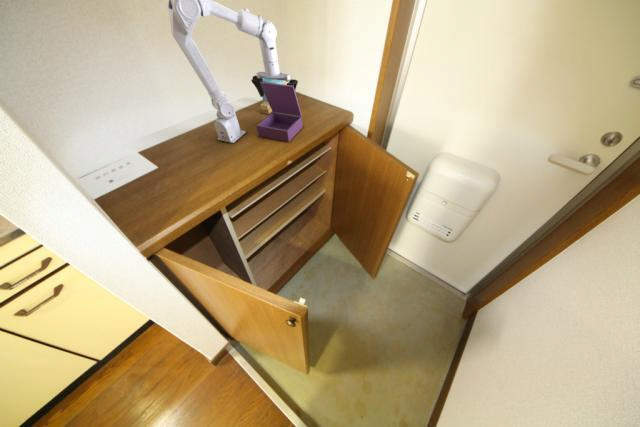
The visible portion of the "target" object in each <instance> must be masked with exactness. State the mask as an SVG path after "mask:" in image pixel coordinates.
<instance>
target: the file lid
mask: <svg viewBox="0 0 640 427" xmlns="http://www.w3.org/2000/svg"><path fill="white" fill-rule="evenodd" d="M260 84H261V86H262V89H263V91H264V93H265V96H266V98H267V100H268V103H269V105H270V107H271V110H272V112H275V113H281V114H287V115H294V116H300V117H302V116H303V114H302V111H301V108H300V104H299V101H298V97H297V93H296V90H295V89H294V86H291V85H287V84H284V85H283V84H275V83H267V82H260ZM272 112H271V113H272Z"/></svg>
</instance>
